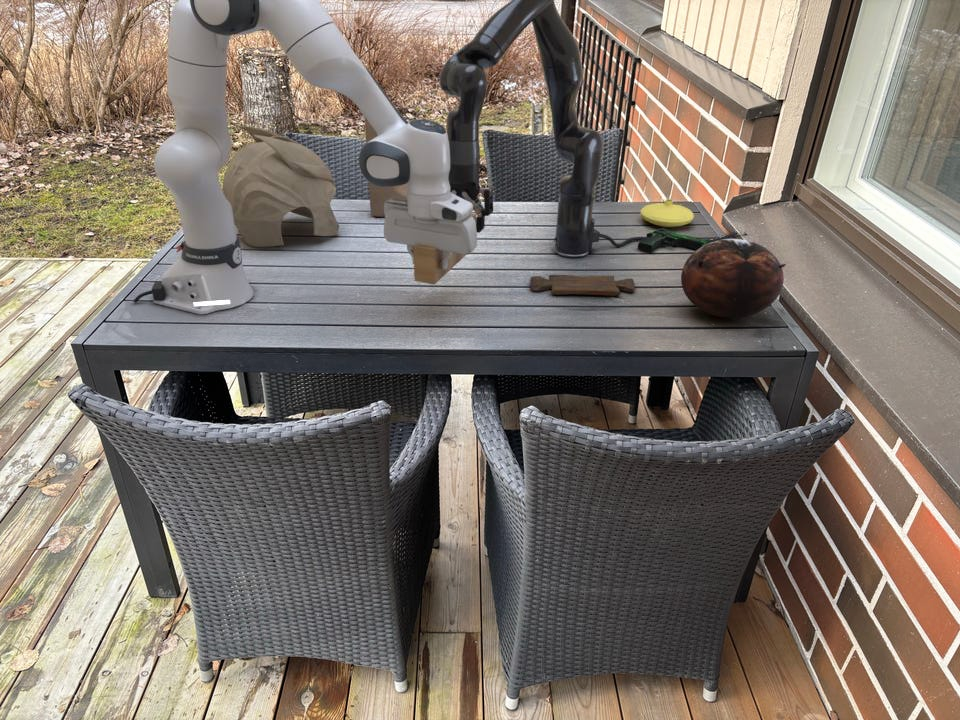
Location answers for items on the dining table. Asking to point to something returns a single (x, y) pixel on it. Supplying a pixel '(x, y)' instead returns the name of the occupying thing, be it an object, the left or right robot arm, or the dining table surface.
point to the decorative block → (381, 193)
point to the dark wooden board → (581, 285)
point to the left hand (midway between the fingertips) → (430, 266)
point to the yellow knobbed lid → (667, 214)
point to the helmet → (277, 188)
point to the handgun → (669, 240)
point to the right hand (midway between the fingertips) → (462, 228)
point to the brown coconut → (732, 278)
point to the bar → (432, 262)
